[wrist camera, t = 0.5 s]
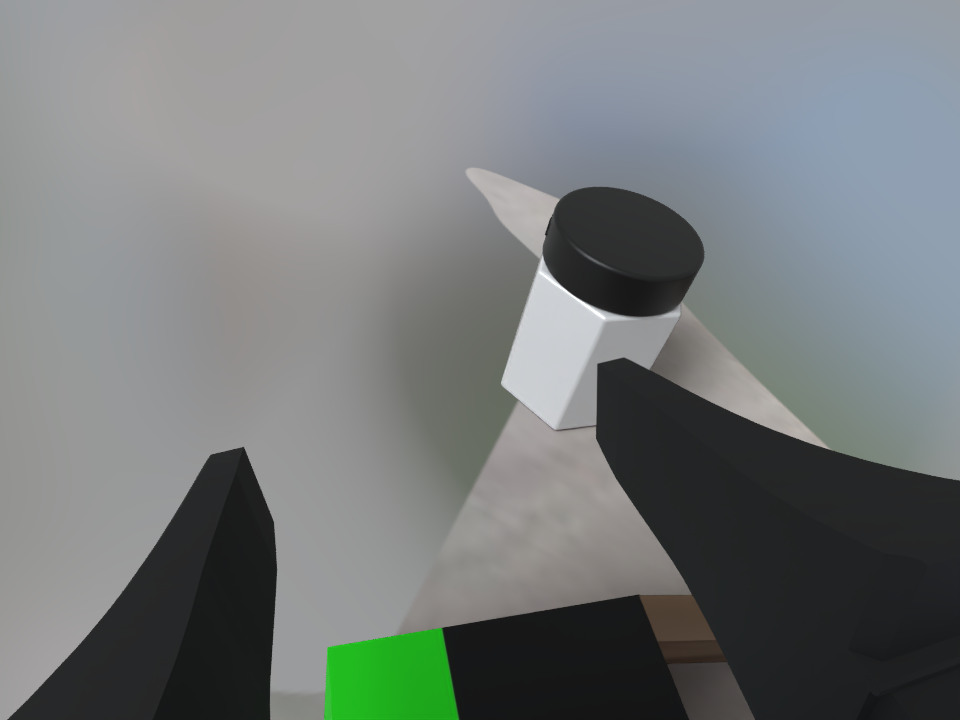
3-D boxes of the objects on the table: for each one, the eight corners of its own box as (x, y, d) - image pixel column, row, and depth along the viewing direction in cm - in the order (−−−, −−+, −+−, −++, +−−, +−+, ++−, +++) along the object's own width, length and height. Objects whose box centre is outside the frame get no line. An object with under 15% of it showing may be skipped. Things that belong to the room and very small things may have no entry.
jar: (599, 332, 45) (667, 185, 36) (650, 422, 40) (742, 276, 31) (482, 340, 42) (525, 183, 33) (520, 438, 37) (583, 282, 28)
